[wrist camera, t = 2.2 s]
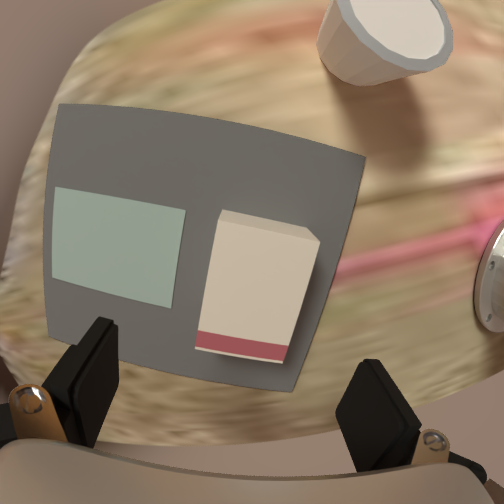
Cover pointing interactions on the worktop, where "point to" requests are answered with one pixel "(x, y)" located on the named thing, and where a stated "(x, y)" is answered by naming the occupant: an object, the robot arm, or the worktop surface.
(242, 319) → the card box
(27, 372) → the worktop surface
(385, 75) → the white cup
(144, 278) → the mat
